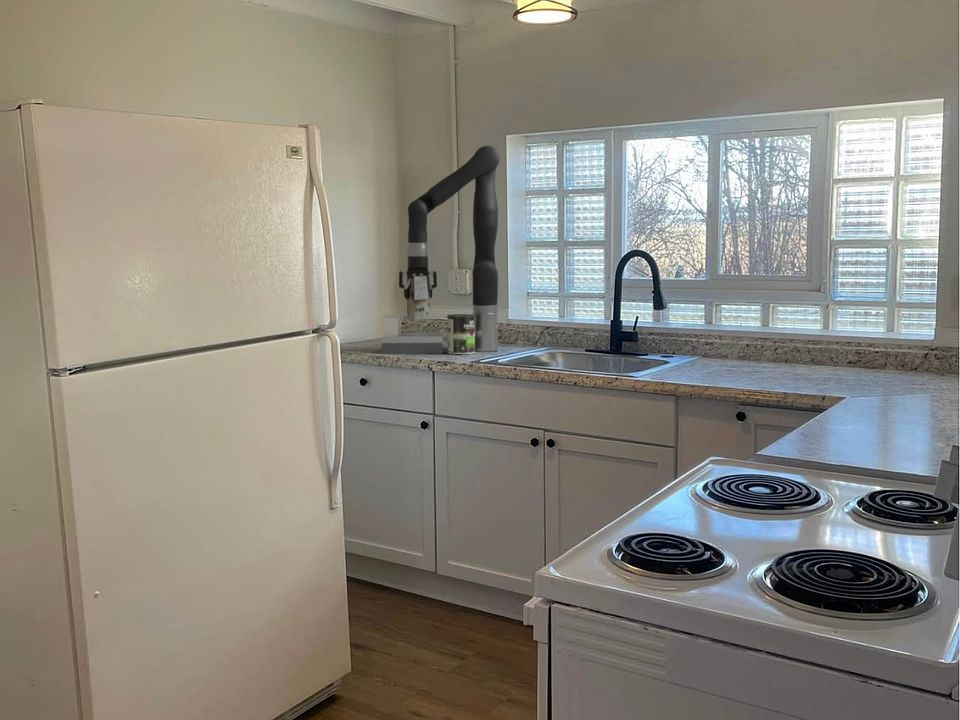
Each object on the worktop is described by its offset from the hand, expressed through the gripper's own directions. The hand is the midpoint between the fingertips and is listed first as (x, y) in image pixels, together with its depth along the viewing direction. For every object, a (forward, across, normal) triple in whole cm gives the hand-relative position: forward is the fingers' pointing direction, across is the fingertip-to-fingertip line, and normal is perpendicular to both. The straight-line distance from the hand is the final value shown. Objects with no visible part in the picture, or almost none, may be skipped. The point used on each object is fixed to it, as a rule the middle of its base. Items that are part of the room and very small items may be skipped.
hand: (418, 299), depth 336 cm
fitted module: (+15, +10, 0) cm, 18 cm away
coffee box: (+7, 0, 0) cm, 7 cm away
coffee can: (+20, -16, +5) cm, 26 cm away
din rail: (+16, +2, 0) cm, 16 cm away
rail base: (+20, +2, 0) cm, 20 cm away
